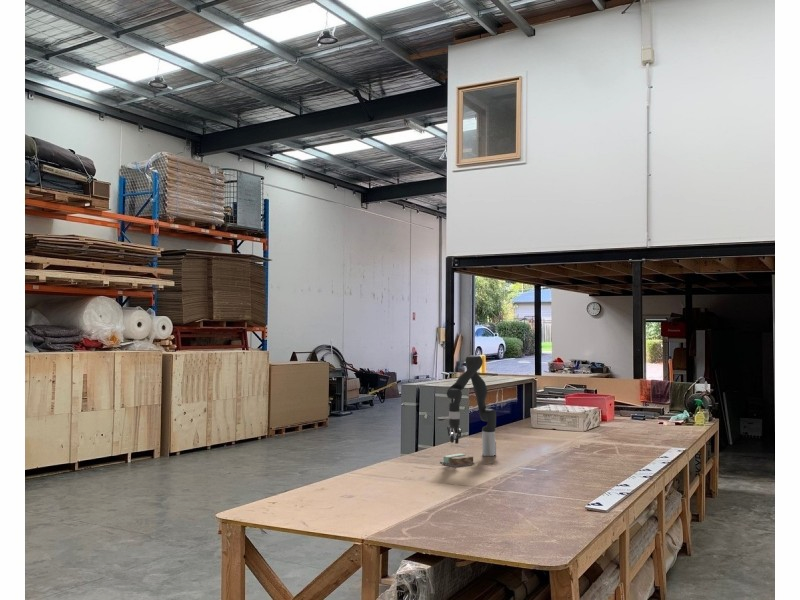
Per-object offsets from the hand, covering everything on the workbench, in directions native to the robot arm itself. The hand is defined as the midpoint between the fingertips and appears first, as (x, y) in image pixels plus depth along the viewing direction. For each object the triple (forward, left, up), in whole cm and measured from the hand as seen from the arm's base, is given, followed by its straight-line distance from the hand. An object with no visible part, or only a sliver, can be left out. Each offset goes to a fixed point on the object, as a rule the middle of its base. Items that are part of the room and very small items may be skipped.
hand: (454, 442), depth 447 cm
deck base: (0, +3, -13) cm, 14 cm away
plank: (0, 0, -12) cm, 12 cm away
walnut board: (0, +8, -12) cm, 15 cm away
